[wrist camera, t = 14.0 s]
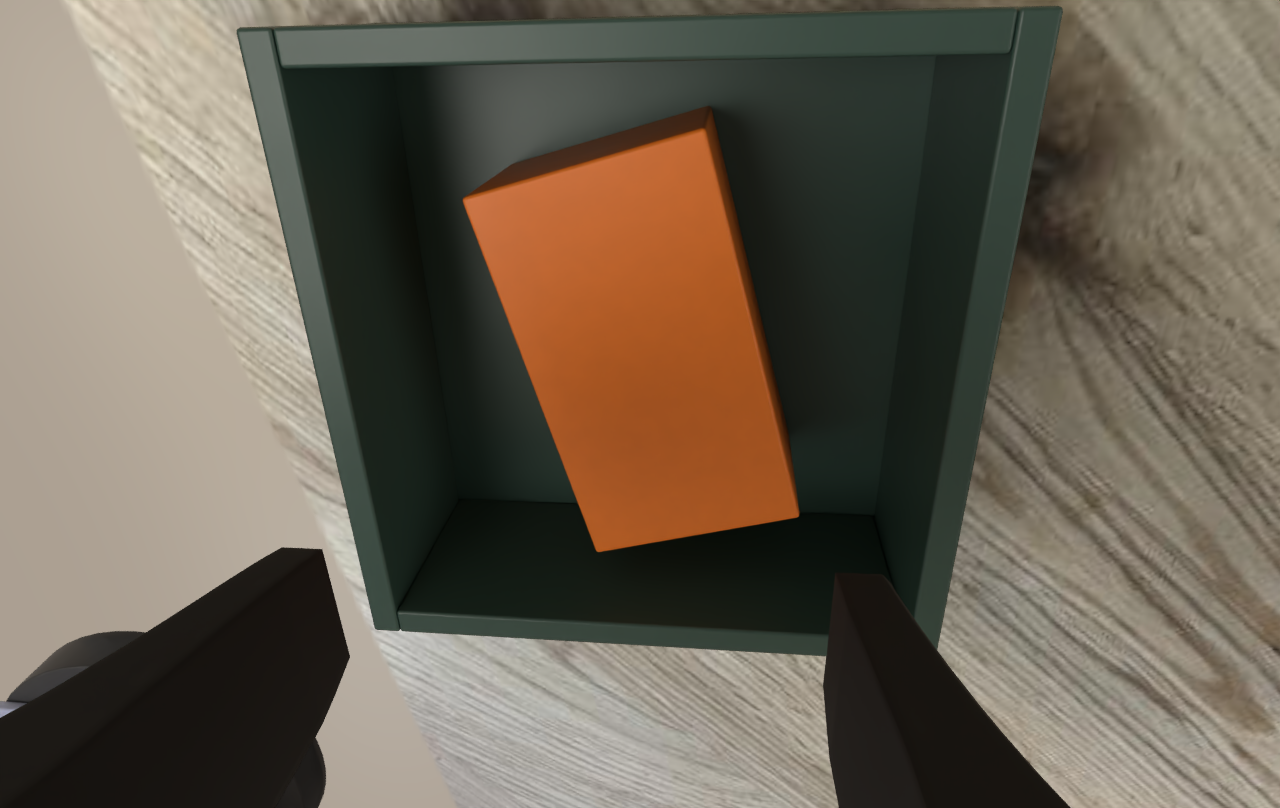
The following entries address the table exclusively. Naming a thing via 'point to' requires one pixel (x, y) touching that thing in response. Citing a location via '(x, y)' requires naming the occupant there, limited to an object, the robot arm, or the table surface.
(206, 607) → the robot arm
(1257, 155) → the table surface
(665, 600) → the bin
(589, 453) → the orange rectangular block
